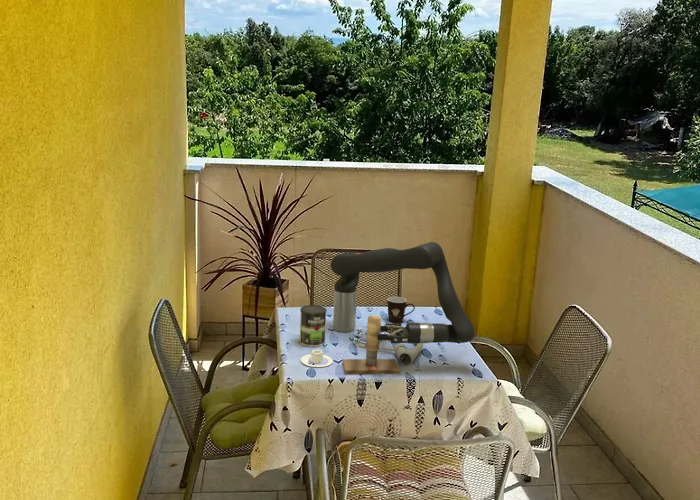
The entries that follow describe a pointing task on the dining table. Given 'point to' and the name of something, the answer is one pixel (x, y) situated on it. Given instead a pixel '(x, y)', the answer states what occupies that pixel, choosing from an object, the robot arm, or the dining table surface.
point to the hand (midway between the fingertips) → (375, 333)
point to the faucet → (402, 352)
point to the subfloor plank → (361, 368)
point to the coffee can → (312, 325)
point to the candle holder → (316, 358)
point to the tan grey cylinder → (372, 340)
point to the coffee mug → (397, 309)
